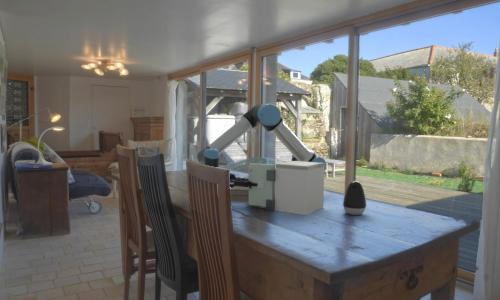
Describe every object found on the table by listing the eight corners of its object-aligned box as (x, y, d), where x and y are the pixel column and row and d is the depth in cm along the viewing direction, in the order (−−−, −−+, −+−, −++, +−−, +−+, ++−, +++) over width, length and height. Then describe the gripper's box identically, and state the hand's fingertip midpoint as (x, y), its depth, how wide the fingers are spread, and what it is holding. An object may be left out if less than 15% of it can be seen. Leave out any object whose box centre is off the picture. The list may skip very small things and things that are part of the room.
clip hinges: (272, 207, 188) (273, 168, 187) (279, 208, 186) (280, 169, 185) (265, 210, 183) (266, 170, 181) (272, 211, 181) (273, 170, 179)
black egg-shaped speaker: (340, 214, 176) (341, 181, 175) (345, 210, 185) (346, 178, 184) (363, 217, 171) (364, 183, 170) (367, 213, 180) (369, 180, 179)
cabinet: (293, 203, 199) (294, 160, 197) (323, 207, 190) (324, 162, 189) (274, 210, 182) (275, 163, 181) (306, 215, 173) (307, 166, 172)
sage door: (251, 203, 192) (251, 163, 191) (274, 206, 185) (275, 164, 184) (247, 204, 189) (247, 163, 188) (270, 207, 182) (270, 165, 181)
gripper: (235, 185, 205) (274, 190, 193) (216, 189, 192) (256, 195, 179) (235, 171, 205) (274, 175, 192) (216, 174, 191) (257, 178, 179)
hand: (265, 184), depth 186 cm, fingers closed on sage door, 3 cm apart
